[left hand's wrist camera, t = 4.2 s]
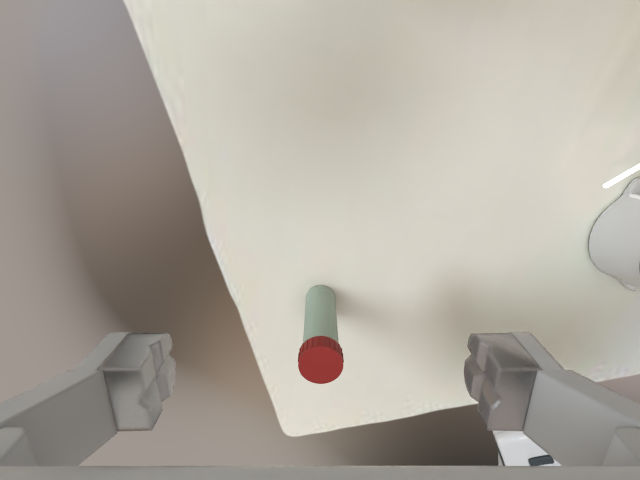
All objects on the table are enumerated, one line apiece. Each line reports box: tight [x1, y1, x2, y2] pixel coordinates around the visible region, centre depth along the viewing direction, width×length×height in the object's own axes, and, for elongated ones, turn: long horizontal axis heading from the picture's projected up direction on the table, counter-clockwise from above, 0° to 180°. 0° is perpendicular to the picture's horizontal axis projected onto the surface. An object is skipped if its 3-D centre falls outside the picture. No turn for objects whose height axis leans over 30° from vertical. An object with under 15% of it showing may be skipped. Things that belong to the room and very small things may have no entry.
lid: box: [298, 336, 344, 384], centre depth 49 cm, size 6×6×2 cm
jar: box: [303, 285, 338, 343], centre depth 56 cm, size 5×5×17 cm
